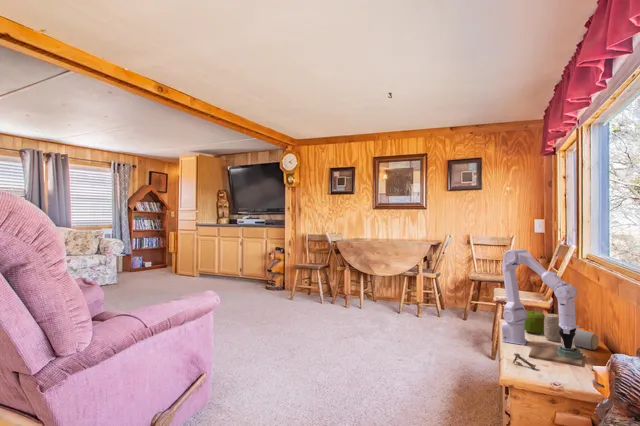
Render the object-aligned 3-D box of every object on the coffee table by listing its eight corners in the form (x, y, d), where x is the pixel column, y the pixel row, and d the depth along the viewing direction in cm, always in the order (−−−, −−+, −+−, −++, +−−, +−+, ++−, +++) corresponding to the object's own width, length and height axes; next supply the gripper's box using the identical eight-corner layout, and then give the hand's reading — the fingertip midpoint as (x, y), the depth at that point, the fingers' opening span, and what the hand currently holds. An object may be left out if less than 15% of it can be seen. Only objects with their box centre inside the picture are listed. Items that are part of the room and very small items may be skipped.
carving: (565, 343, 165) (563, 317, 166) (546, 341, 168) (545, 316, 168) (560, 338, 171) (559, 313, 172) (542, 337, 174) (541, 312, 174)
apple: (519, 328, 189) (518, 307, 189) (542, 329, 186) (541, 308, 186) (525, 335, 178) (524, 313, 179) (550, 336, 175) (549, 313, 176)
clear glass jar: (562, 355, 148) (561, 338, 148) (561, 352, 152) (560, 335, 152) (575, 357, 146) (574, 340, 146) (574, 353, 150) (573, 337, 150)
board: (528, 357, 150) (528, 348, 150) (533, 347, 161) (533, 339, 161) (581, 366, 139) (581, 357, 139) (582, 355, 150) (582, 347, 150)
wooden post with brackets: (511, 360, 146) (515, 351, 145) (531, 373, 140) (536, 364, 139) (509, 361, 145) (514, 352, 143) (530, 375, 139) (534, 365, 138)
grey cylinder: (593, 352, 153) (592, 334, 154) (571, 347, 160) (570, 329, 160) (602, 347, 159) (602, 329, 159) (581, 342, 166) (580, 325, 166)
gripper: (577, 319, 141) (579, 354, 141) (579, 311, 152) (580, 343, 152) (556, 317, 145) (558, 350, 145) (559, 309, 157) (561, 340, 156)
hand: (568, 346), depth 149 cm, fingers closed on clear glass jar, 4 cm apart
